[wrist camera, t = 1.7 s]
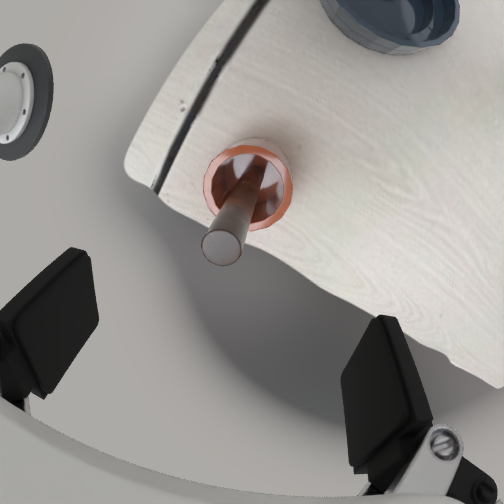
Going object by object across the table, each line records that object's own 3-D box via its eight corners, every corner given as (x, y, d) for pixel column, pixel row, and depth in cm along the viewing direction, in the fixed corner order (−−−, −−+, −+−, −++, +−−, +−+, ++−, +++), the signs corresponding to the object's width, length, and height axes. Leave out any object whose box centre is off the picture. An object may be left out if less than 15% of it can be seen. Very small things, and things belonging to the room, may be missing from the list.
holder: (207, 186, 34) (189, 205, 28) (239, 125, 30) (227, 129, 24) (268, 219, 35) (264, 245, 29) (303, 160, 31) (309, 173, 25)
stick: (240, 178, 32) (194, 254, 16) (249, 161, 31) (211, 222, 15) (257, 187, 33) (230, 273, 17) (267, 171, 32) (248, 241, 16)
